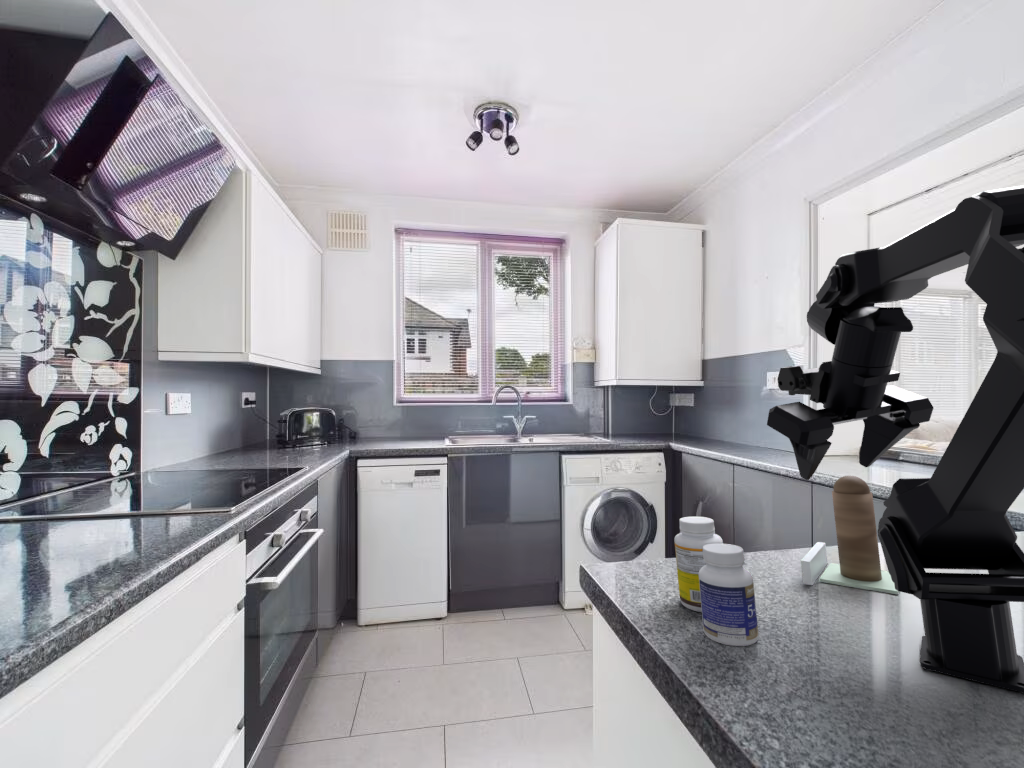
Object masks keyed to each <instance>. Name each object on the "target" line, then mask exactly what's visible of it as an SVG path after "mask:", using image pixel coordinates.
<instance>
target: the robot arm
mask: <svg viewBox="0 0 1024 768" xmlns="http://www.w3.org/2000/svg"><path fill="white" fill-rule="evenodd" d="M1023 245H1024V185H1017V186H1016V185H1015V186H1010V187H1003V188H997V189H990V190H983V191H980V192H977V193H975V194H973V195H972V196H969V197H966V198H964V199H962V200H961V201H960V202H959V203H958V205H956V206H955V208H954V209H951V210H950V211H948V212H946V213H945V214H943V215H941V216H939V217H936V218H935V219H933V220H932V221H929V222H928V223H927V224H925V225H922V226H921V227H919V228H917V229H915V230H913V231H912V232H910V233H907V234H906V235H904V236H902V237H900V238H899V239H897V240H895V241H893V242H891V243H890V244H887V245H885V246H880V247H876V248H875V247H874V248H869V249H863V250H858V251H853V252H848V253H843V254H841V255H840V256H839V257H838V259H837V260H836V261H835V263H834V265H833V266H832V267H831V268H830V271H829V273H828V275H827V277H826V280H824V283H823V284H822V285H821V287H820V289H819V290H818V291H817V293H816V294H815V298H816V300H815V301H814V302H813V303H812V304H811V305H810V308H809V309H808V311H807V312H806V322H807V324H808V326H809V328H810V329H811V331H814V332H815V333H817V334H818V335H819V336H821V337H822V338H824V339H825V340H826V341H827V342H829V343H830V344H832V345H833V346H834V348H833V352H832V358H831V361H830V360H829V361H824V362H822V363H820V365H819V367H812V368H804V369H802V367H801V365H794V366H792V365H788V366H784V367H783V366H782V367H780V369H779V373H778V376H777V387H778V389H779V390H780V391H782V392H783V391H784V392H788V395H789V396H795V395H804V396H809V400H810V401H812V402H814V403H816V404H822V406H823V408H820V409H815V408H813V407H811V406H809V405H806V404H805V403H803V402H801V401H795V402H791V403H784V404H778V405H775V406H773V407H771V408H769V410H768V415H767V416H768V417H767V421H766V422H767V423H766V425H767V426H768V427H769V428H771V429H773V430H774V431H776V432H777V433H780V434H782V436H785V437H786V438H788V439H789V442H790V445H791V447H792V449H793V453H794V456H795V460H796V464H797V469H798V473H799V476H800V477H801V478H802V479H803V480H804V481H809V480H810V479H811V478H812V476H814V474H815V472H816V471H817V469H818V467H819V465H820V464H821V463H822V461H823V459H824V457H825V455H826V454H827V452H828V451H829V449H830V448H831V445H832V444H833V442H831V441H829V439H830V438H831V437H832V436H833V435H834V429H835V426H834V425H841V424H847V423H850V422H855V421H863V424H864V426H863V433H862V439H861V443H860V444H861V445H860V450H859V457H858V458H859V459H858V460H859V461H858V462H859V465H861V466H862V467H864V468H869V467H870V466H871V465H873V464H874V463H875V462H876V461H877V460H879V458H881V457H882V456H883V455H884V454H885V453H886V452H888V451H889V450H890V449H891V448H893V447H894V446H895V445H896V444H897V443H899V442H900V441H901V440H903V438H905V437H906V436H907V435H909V434H910V433H911V432H912V431H913V430H917V429H919V427H920V425H921V424H922V423H927V422H930V421H931V417H932V415H933V412H934V411H933V410H934V406H933V405H932V403H931V400H930V399H929V397H927V396H923V395H920V394H918V393H916V392H913V391H910V390H907V389H904V388H902V387H899V386H896V385H894V384H892V385H891V384H890V385H888V383H893V382H898V381H899V380H900V375H901V372H899V371H896V370H894V369H892V368H893V364H894V359H895V356H896V352H897V349H898V345H899V341H900V339H901V335H902V334H901V333H911V332H912V331H914V326H913V323H912V321H911V319H909V318H908V317H907V316H906V314H905V313H904V309H903V307H900V306H897V307H891V306H890V307H880V306H875V305H876V304H882V303H883V304H884V303H891V302H892V303H893V302H898V301H905V300H909V299H911V298H913V297H915V296H916V295H918V294H919V293H921V292H923V291H924V290H926V289H927V288H928V287H929V280H930V279H932V278H934V277H937V276H940V275H941V274H944V273H947V272H950V271H953V270H956V269H959V268H962V267H964V266H967V269H966V274H965V278H964V282H965V284H966V286H968V287H969V288H970V290H972V291H973V293H974V294H976V295H977V296H978V297H979V298H980V300H982V301H983V302H984V303H985V304H986V306H985V309H984V312H983V316H982V321H983V322H984V325H985V328H986V329H987V332H988V334H989V336H990V338H991V340H992V342H993V344H994V346H995V348H996V350H997V352H996V355H995V358H994V360H993V361H992V362H993V363H992V364H991V366H990V368H989V369H988V371H987V373H986V375H985V377H984V379H983V380H982V383H981V384H980V386H979V387H978V390H977V392H976V393H975V395H974V397H973V399H972V401H971V403H970V404H969V407H968V408H967V410H966V412H965V414H964V415H963V418H962V419H961V422H960V423H959V425H958V427H957V428H956V430H955V432H954V434H953V436H952V437H951V440H950V442H949V444H948V445H947V447H946V449H945V450H944V453H943V454H942V456H941V458H940V460H939V462H938V464H937V466H936V467H935V469H934V471H933V473H932V475H931V477H915V478H913V477H911V478H910V477H909V478H908V477H907V478H905V477H904V478H903V477H902V478H899V479H897V480H896V481H895V482H894V483H893V484H892V487H891V491H890V494H889V497H888V498H887V499H886V500H885V501H883V506H884V507H886V508H885V509H884V511H883V512H882V513H883V514H882V517H881V518H879V521H878V525H877V526H878V529H877V538H878V539H879V540H878V541H879V543H880V547H881V549H882V553H883V558H884V560H885V564H886V567H887V571H888V572H889V574H890V575H891V579H892V581H893V582H894V585H895V589H896V590H898V591H899V593H905V594H909V595H913V596H914V597H916V598H917V599H919V600H920V609H921V615H922V623H923V631H924V635H922V636H921V642H920V653H919V665H920V667H921V668H922V669H925V670H929V671H931V672H932V671H933V672H936V673H941V674H945V675H949V676H953V677H956V678H962V679H964V680H965V679H966V680H969V681H974V682H977V683H981V684H985V685H990V686H994V687H998V688H1002V689H1007V690H1011V691H1015V692H1018V693H1023V694H1024V659H1023V657H1022V656H1021V655H1019V654H1018V652H1017V645H1016V638H1015V631H1014V625H1013V618H1012V610H1011V605H1010V604H1011V603H1010V602H1012V603H1014V602H1016V603H1024V551H1023V550H1022V548H1021V547H1020V545H1018V543H1017V539H1018V535H1017V532H1016V531H1015V530H1014V529H1015V528H1014V527H1013V526H1012V524H1011V522H1010V520H1009V518H1008V516H1007V512H1008V510H1009V508H1010V507H1011V506H1012V505H1013V504H1014V502H1015V501H1016V499H1017V498H1018V497H1019V496H1020V494H1021V493H1022V492H1023V490H1024V246H1023ZM1020 246H1023V247H1021V248H1017V247H1020ZM926 569H927V570H928V569H929V570H960V571H961V570H966V571H967V570H968V571H969V570H970V571H971V570H972V571H987V572H988V573H966V572H965V573H963V572H960V573H959V572H926Z"/></svg>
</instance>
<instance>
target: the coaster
mask: <svg viewBox="0 0 1024 768" xmlns="http://www.w3.org/2000/svg"><path fill="white" fill-rule="evenodd" d="M823 571H824V572H823V573H821V576H819V582H820V583H825V584H831V585H836V586H837V585H838V586H844V587H850V588H855V589H861V590H867V591H872V592H873V591H874V592H880V593H885V594H886V593H887V594H890V595H899V593H900V591H898V590H896V589H895V585H894V582H893V581H892V579H891V575H890V574H889V572H888V570H882V569H881V575H882V580H880V581H873V582H869V581H859V580H854V579H850V578H847V577H844V576H842V575H841V572H840V563H832V562H829V563H828V565H827V566H826V568H825V570H823Z"/></svg>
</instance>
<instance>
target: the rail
mask: <svg viewBox="0 0 1024 768" xmlns="http://www.w3.org/2000/svg"><path fill="white" fill-rule="evenodd" d="M800 564H801V573H802V584H803V585H807V586H813V585H814V584H815V582H816V581H817V579H818V578H820V575H822V572H823V571H825V570H824V569H826V568H827V566H828V565H829V563H828V553H827V546H826V542H822V541H816V543H815V544H814V545H813V546H812V548H811V549H809V551H808V552H807V553H806V554H805V555H804V556H803V558H802V559H801V560H800Z"/></svg>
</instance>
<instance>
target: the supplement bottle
mask: <svg viewBox="0 0 1024 768" xmlns="http://www.w3.org/2000/svg"><path fill="white" fill-rule="evenodd" d="M678 523H679V533H677V534H676V535H675V536H674V550H675V561H676V571H677V581H678V582H677V583H678V584H677V585H678V595H679V600H680V603H681V604H682V605H683V606H684V607H685V608H686V609H688V610H690V611H694V612H698V613H702V607H701V595H700V584H699V570H700V569H701V568H702V567H703V566H705V565H706V562H704V558H703V546H705V545H708V544H717V543H721V544H724V541H723V539H722V537H721V536H720V535H719V534H717V533H716V531H715V530H716V528H715V521H714V519H712V518H710V517H706V516H684V517H681V518H679V522H678Z"/></svg>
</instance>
